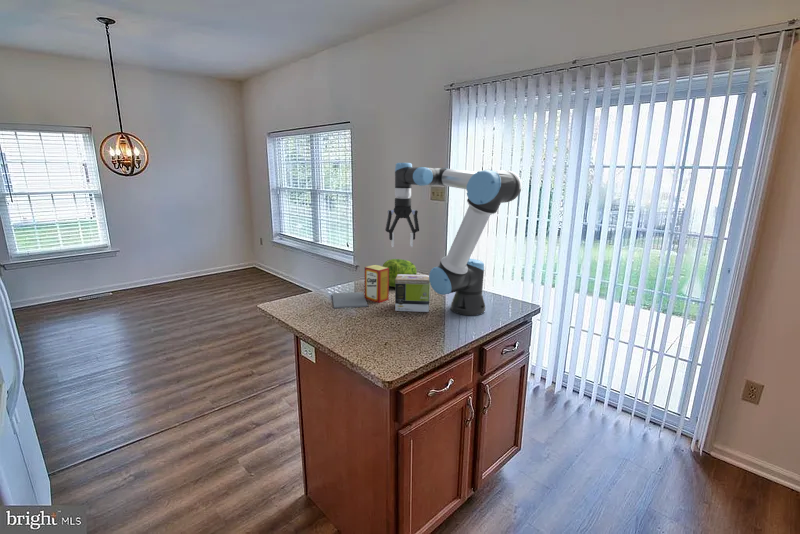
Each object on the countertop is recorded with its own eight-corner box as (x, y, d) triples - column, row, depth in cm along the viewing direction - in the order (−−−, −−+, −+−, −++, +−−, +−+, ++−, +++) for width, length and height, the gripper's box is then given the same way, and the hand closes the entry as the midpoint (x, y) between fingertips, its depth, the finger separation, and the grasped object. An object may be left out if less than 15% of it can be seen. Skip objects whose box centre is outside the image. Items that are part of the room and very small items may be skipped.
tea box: (429, 305, 181) (430, 274, 177) (428, 313, 171) (430, 280, 167) (396, 303, 182) (397, 272, 178) (394, 311, 172) (395, 278, 169)
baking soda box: (388, 299, 187) (388, 267, 183) (379, 303, 182) (379, 269, 179) (374, 295, 193) (374, 263, 189) (364, 298, 188) (364, 266, 185)
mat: (367, 306, 177) (367, 305, 177) (334, 308, 174) (334, 306, 174) (362, 293, 196) (362, 291, 196) (332, 294, 193) (332, 293, 193)
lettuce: (422, 289, 214) (423, 262, 215) (403, 286, 196) (405, 256, 197) (396, 289, 222) (398, 262, 223) (376, 286, 204) (378, 257, 205)
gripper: (423, 197, 185) (421, 244, 190) (378, 197, 180) (378, 245, 186) (427, 198, 177) (425, 247, 183) (381, 198, 173) (381, 248, 178)
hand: (402, 246), depth 184 cm, fingers open, 8 cm apart
